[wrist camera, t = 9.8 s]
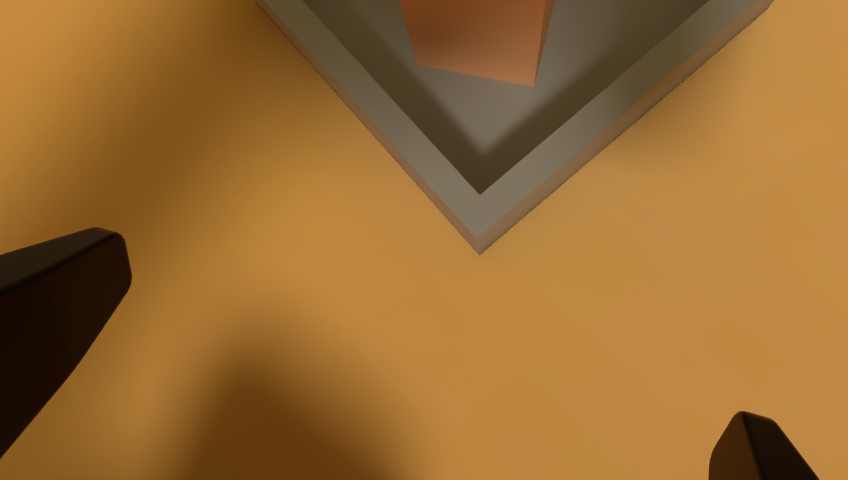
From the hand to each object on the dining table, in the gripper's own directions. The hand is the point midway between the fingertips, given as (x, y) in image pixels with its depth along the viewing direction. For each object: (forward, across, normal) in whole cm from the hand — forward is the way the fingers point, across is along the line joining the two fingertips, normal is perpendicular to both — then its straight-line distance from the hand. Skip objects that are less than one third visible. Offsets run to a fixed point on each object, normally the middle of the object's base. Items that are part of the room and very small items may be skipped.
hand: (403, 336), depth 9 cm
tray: (+19, +2, 0) cm, 19 cm away
